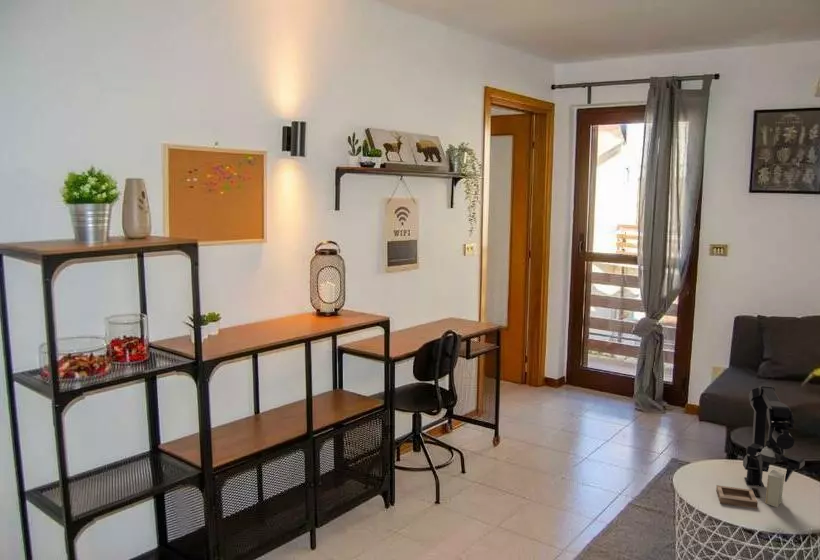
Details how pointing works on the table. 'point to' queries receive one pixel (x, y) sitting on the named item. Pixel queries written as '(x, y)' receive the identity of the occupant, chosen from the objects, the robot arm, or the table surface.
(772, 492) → the skincare box
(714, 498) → the table surface
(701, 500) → the table surface
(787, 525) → the table surface
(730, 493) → the walnut holder
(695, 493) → the table surface
